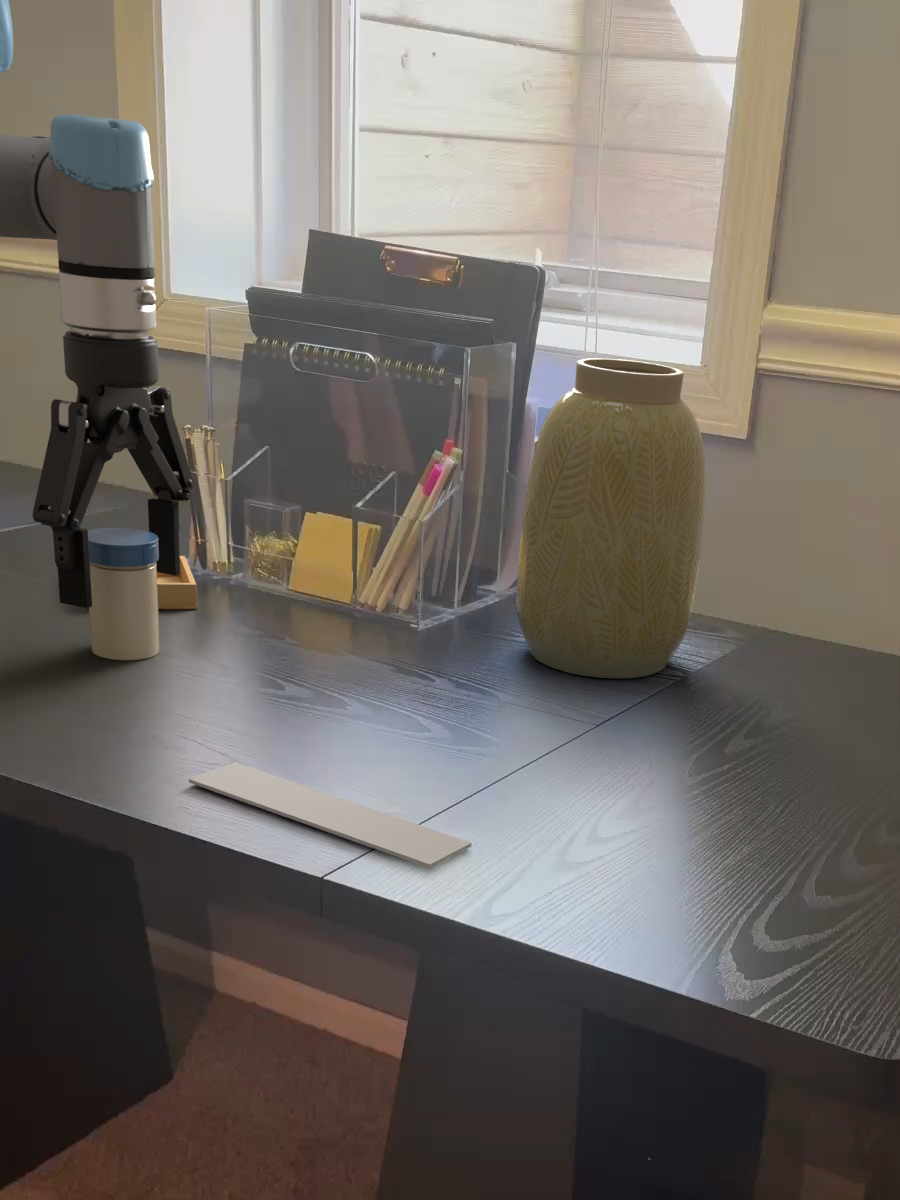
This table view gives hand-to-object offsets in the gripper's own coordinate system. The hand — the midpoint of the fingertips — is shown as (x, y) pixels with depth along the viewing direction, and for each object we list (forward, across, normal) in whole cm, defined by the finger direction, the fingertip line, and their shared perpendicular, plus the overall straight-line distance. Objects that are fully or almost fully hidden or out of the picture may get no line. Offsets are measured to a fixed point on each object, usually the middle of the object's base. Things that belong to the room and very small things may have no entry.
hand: (122, 588), depth 131 cm
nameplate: (+6, -24, -33) cm, 41 cm away
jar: (+6, 0, 0) cm, 6 cm away
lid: (-4, 0, 0) cm, 4 cm away
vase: (+6, +25, -38) cm, 45 cm away
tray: (+6, +17, +9) cm, 20 cm away
